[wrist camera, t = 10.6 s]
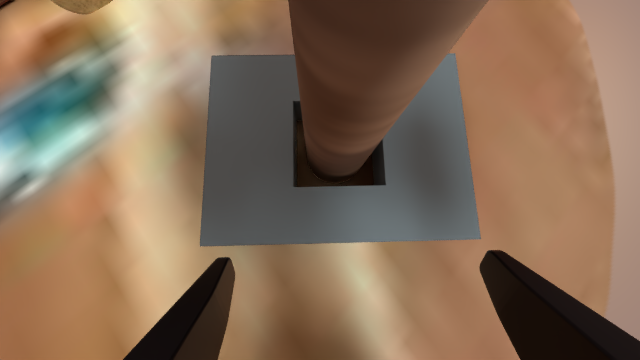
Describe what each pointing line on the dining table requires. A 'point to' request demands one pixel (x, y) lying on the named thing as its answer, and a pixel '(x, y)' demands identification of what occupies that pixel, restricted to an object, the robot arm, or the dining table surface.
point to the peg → (365, 70)
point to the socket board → (332, 201)
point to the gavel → (77, 5)
